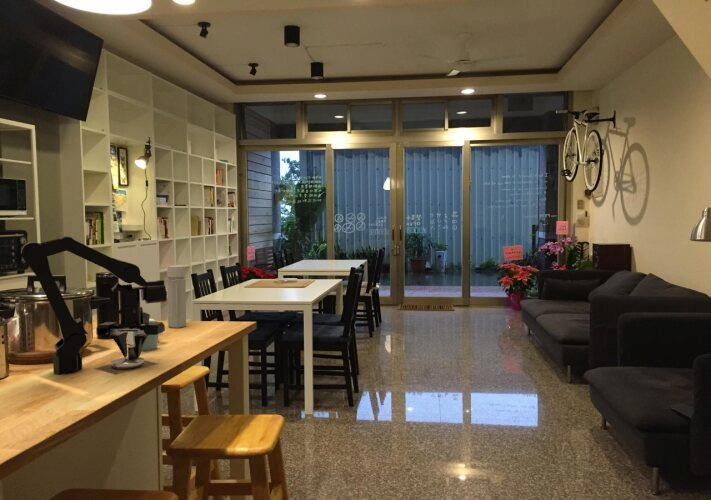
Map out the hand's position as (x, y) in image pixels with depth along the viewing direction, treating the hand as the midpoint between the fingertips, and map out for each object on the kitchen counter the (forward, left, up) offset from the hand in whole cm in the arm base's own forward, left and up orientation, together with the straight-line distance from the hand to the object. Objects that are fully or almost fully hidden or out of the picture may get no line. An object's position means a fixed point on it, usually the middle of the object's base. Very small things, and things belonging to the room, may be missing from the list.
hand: (131, 356), depth 168 cm
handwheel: (-3, -2, -2) cm, 4 cm away
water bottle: (+48, +40, -3) cm, 63 cm away
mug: (+23, +25, -4) cm, 35 cm away
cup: (+14, +13, -3) cm, 20 cm away
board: (-3, -1, -3) cm, 4 cm away
